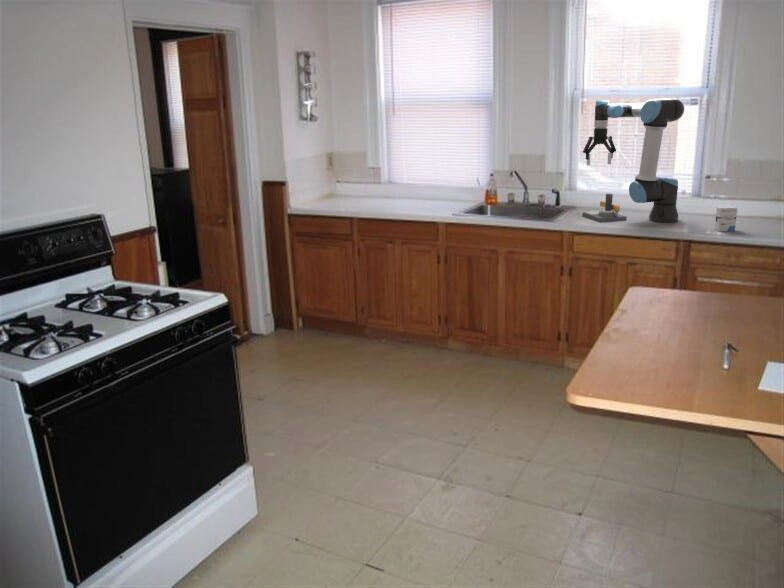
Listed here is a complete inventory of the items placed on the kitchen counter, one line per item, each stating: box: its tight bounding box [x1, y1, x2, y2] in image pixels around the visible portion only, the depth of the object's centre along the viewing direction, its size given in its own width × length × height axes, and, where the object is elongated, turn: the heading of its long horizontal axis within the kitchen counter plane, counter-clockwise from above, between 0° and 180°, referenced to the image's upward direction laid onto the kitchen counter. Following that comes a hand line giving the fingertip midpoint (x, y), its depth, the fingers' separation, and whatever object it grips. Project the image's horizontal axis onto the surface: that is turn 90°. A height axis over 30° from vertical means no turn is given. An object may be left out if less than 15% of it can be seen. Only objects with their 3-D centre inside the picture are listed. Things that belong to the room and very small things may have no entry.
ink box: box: [714, 206, 738, 232], centre depth 358 cm, size 8×5×12 cm, turn 92°
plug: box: [602, 193, 615, 214], centre depth 391 cm, size 6×6×12 cm
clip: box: [599, 200, 621, 212], centre depth 395 cm, size 17×3×3 cm, turn 14°
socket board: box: [581, 210, 627, 223], centre depth 397 cm, size 20×16×5 cm
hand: (598, 164), depth 417 cm, fingers open, 13 cm apart
